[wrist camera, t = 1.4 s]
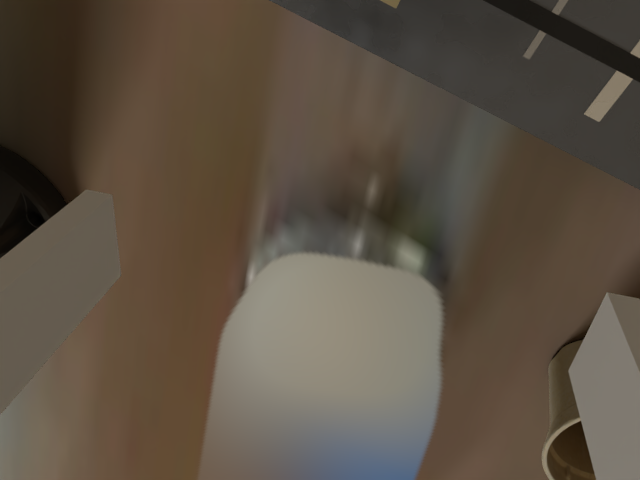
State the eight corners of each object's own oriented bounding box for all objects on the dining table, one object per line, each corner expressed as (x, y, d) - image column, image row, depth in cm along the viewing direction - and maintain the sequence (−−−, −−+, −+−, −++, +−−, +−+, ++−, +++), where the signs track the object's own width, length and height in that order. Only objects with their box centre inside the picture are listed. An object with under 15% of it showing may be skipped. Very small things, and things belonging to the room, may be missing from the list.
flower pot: (609, 297, 39) (644, 388, 32) (688, 375, 41) (739, 476, 34) (501, 359, 44) (511, 449, 37) (577, 426, 46) (600, 524, 39)
